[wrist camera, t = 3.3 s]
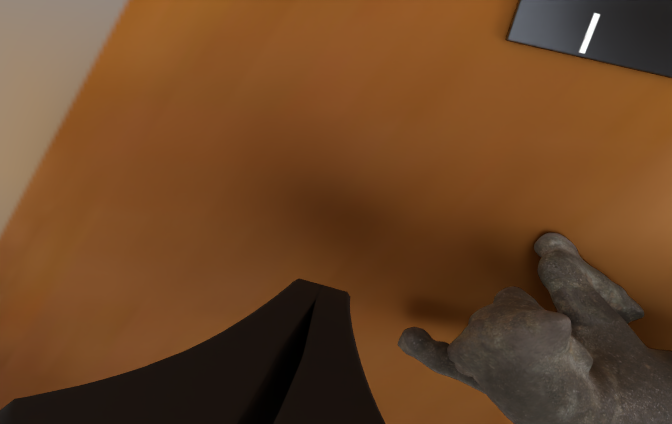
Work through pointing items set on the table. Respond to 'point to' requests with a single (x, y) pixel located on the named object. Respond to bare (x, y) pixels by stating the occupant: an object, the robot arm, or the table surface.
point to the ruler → (599, 31)
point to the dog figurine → (557, 350)
